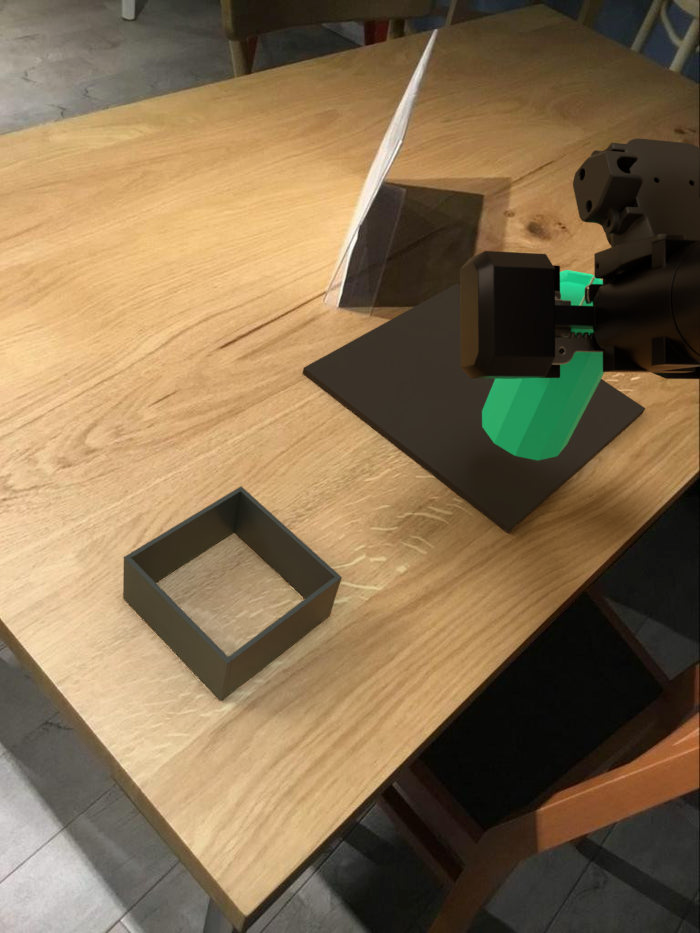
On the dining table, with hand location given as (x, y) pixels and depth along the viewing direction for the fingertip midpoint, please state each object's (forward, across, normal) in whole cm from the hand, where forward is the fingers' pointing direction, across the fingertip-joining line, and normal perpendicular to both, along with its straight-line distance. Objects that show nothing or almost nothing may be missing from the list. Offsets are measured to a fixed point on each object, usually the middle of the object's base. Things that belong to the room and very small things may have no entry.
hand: (551, 337), depth 55 cm
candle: (+4, 0, +6) cm, 7 cm away
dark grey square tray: (+2, +20, +16) cm, 26 cm away
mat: (+15, -2, +3) cm, 15 cm away
